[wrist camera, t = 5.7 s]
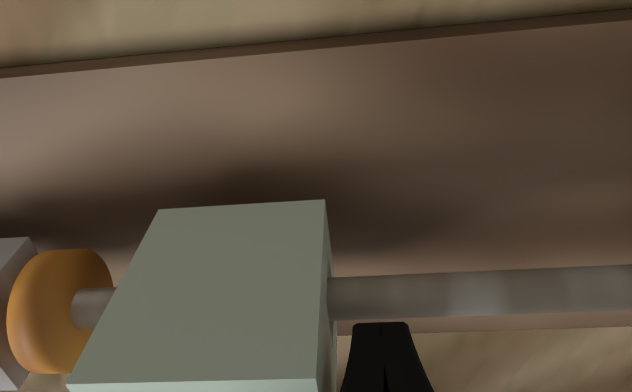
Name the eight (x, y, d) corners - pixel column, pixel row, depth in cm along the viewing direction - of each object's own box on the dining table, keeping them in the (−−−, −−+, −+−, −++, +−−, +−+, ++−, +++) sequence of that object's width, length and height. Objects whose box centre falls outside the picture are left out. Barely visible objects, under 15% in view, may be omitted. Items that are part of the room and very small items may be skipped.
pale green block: (337, 304, 16) (335, 487, 11) (195, 309, 17) (136, 487, 12) (325, 199, 14) (315, 378, 9) (158, 209, 14) (64, 383, 9)
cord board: (652, 305, 19) (766, 467, 14) (14, 328, 22) (-87, 470, 17) (789, -7, 12) (1109, 83, 7) (-162, 83, 15) (-422, 196, 10)
